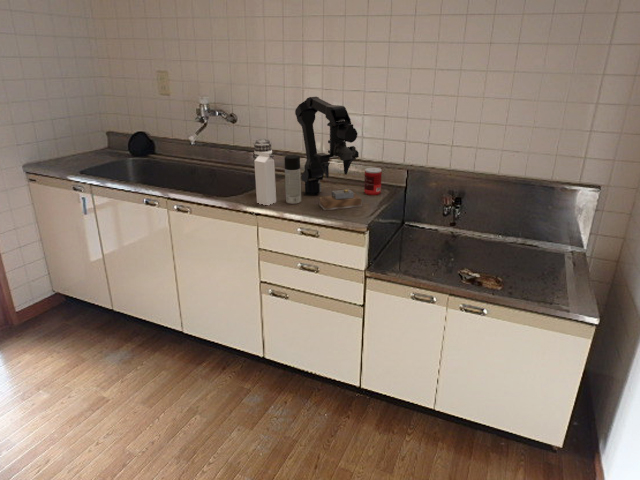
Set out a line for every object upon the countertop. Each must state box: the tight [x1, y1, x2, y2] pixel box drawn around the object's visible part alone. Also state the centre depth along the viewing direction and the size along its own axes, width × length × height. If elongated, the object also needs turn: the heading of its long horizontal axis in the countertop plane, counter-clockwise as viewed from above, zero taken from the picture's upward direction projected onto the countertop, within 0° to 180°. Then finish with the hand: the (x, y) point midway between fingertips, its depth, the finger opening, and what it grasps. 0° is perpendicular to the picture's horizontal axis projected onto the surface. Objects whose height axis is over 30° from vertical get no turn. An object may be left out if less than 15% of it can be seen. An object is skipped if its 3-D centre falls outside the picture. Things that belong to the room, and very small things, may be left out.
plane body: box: [318, 193, 363, 211], centre depth 196 cm, size 17×8×4 cm, turn 107°
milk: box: [253, 152, 277, 206], centre depth 197 cm, size 6×6×22 cm
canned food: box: [363, 167, 383, 196], centre depth 211 cm, size 8×8×11 cm
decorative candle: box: [252, 138, 275, 183], centre depth 208 cm, size 9×9×25 cm
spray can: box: [284, 154, 302, 205], centre depth 199 cm, size 7×7×20 cm
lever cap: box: [331, 188, 355, 200], centre depth 195 cm, size 8×5×3 cm, turn 107°
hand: (336, 176), depth 193 cm, fingers open, 9 cm apart
